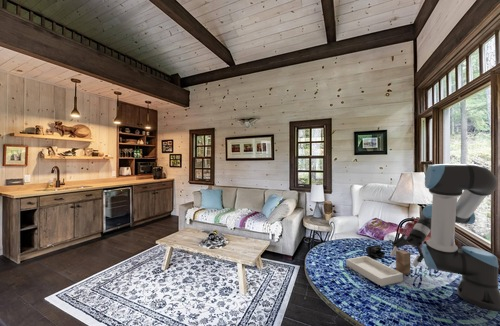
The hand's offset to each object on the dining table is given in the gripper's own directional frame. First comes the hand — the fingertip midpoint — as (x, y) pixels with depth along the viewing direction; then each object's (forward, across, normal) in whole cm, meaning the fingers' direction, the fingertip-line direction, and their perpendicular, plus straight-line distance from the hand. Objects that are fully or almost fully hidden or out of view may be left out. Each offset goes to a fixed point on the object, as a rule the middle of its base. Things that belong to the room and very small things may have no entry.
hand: (402, 260), depth 126 cm
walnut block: (+4, 0, -5) cm, 7 cm away
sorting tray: (+17, +4, +8) cm, 19 cm away
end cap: (+2, +22, -8) cm, 23 cm away
